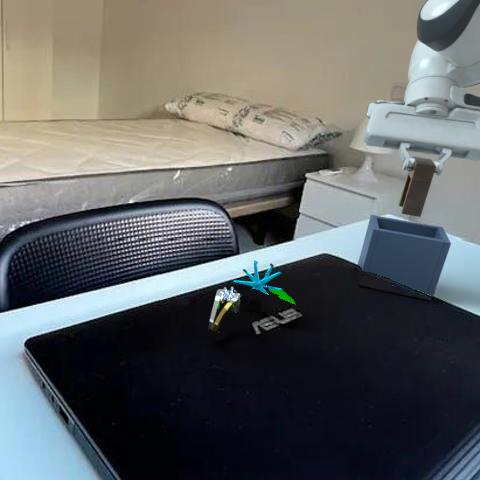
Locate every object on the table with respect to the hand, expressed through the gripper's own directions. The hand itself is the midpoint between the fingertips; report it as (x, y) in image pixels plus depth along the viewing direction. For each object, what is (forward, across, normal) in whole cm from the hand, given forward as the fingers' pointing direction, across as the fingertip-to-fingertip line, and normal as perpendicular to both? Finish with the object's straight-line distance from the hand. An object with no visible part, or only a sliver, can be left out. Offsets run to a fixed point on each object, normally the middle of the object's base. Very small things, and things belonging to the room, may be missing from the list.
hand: (422, 171), depth 85 cm
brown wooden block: (+5, 0, +6) cm, 7 cm away
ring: (+39, -25, -10) cm, 47 cm away
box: (+16, 0, +12) cm, 21 cm away
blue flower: (+30, -20, -1) cm, 36 cm away
